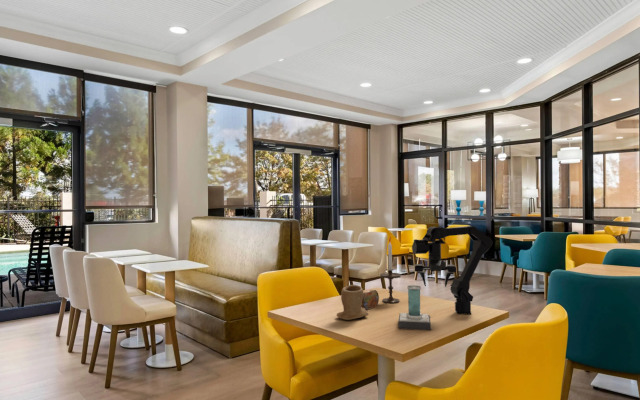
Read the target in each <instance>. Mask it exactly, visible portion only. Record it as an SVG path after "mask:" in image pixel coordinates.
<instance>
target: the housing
mask: <svg viewBox="0 0 640 400" xmlns="http://www.w3.org/2000/svg"><path fill="white" fill-rule="evenodd" d="M406 289H407V296H408V297H407V301H408V303H407V304H408V312H406V313H407V314H406V317H407V318H410V319H421V318H423V315H422V314H423V313H421V289H422V288H421V285H412V284H411V285H407V288H406Z"/></svg>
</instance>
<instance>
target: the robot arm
mask: <svg viewBox="0 0 640 400" xmlns="http://www.w3.org/2000/svg"><path fill="white" fill-rule="evenodd" d="M465 235H468V236H469V238H470V239H471V240H472V241H473V242H472V251H471V253H470V256H469V258H468V260H467V262H466V264H465V266H464V267H463V270H462V273H461V274H460V276H459V277H458V278H455V277H454V278H453V280H452V283H451V284H450V289H449V290H450V292H451V294H452V295H453V297H454V298H455V302H454V310H455V311H454V312H456V314H458V315H459V314H460V315H472V310H471V309H472V308H471V307H472V305H471V304H472V303H471V302H473V299H474V296H473V295H472V293H470V292H469V291H470V284H471V283H470V282H471V280H472V278H473V276H474V273H475V271H476V270H477V267H478V265H479V263H480V260H481V259H482V257H483V256H484V254H485V253H486V252H488V251H489V249H490V248H491V247H492V245H493V240H492V238H491V237H490V236H489V235H486V234H485V233H484V232H482V231H481V230H479V229H478V228H477V227H476V226H474V225H465V226H454V227H438V226H429V227H428V228H427V230H426V233H425V235H424V236H423V238H422V239H417V238H416V239H413V242H412V245H411V251H412V254H414V255H422V254H423V255H426V254H427V253H428V266H427V265H424V264H422V263H421V264H420V263H416V264H414V272H417V274H420V277H421V279H422V282H423V285H424V287H426V285H427V283H426V282H427V281H426V276H425V271H431V272H441V271H445V275H444V276H445V278H444V287H445V288H446V287H447V285H448V281H449V278H450V276H451V275H454V273H457V267H456V265H455V264H446V260H442V245H445V244H446V242H445V241H444V240H443V239H444V238H447V237H450V236H451V237H452V236H465Z"/></svg>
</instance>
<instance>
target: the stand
mask: <svg viewBox="0 0 640 400" xmlns="http://www.w3.org/2000/svg"><path fill="white" fill-rule="evenodd" d="M407 313H408V312H400V313H398V315H399V316H398V329H399V330H401V329H402V330H419V331H431V330H432V327H431V326H432V325H431V323H432V322H431V317H430V314H429V313H421V314H422V315H423V318H421V319H410V318H407V317H406V314H407Z"/></svg>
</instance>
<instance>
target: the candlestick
mask: <svg viewBox="0 0 640 400" xmlns="http://www.w3.org/2000/svg"><path fill="white" fill-rule="evenodd" d="M391 238H392V237H391V236H390V237H389V239H388V241H389V243H388V245H387V251H388V252H387V253H388V254H387V255H388V269H386V271H388V272H385V273H380V274H379V276H380V278H382V279H387V280H389V282H388V283H389V284H388V286H387V288H388V293H389V297H386V298H383V299H381V300H382V303H383V304H384V303H385V304H393V305H394V304H398V303H400V299H399V298H394V297H393V293H394V291H393V289H394V286H393V280H394V279H398V278H399V279H400V278H401V277H402V275H401V274H400V273H397V272H396V273H395V272H393V271H394V269H393V252H392V250H393V247H392V246H393V244H391Z"/></svg>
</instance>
